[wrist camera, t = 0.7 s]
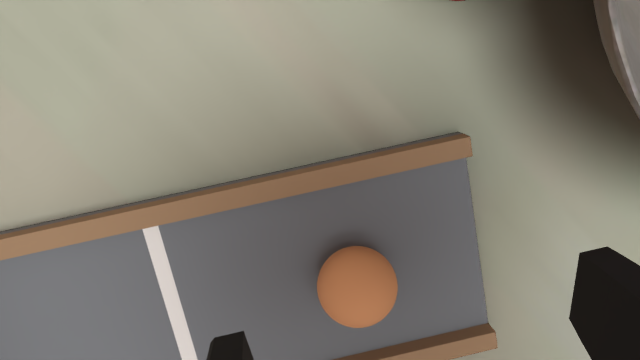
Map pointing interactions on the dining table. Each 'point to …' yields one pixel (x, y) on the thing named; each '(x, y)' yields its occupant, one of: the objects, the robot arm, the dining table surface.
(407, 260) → the lane
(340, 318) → the ball
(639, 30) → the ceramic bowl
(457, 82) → the dining table surface
